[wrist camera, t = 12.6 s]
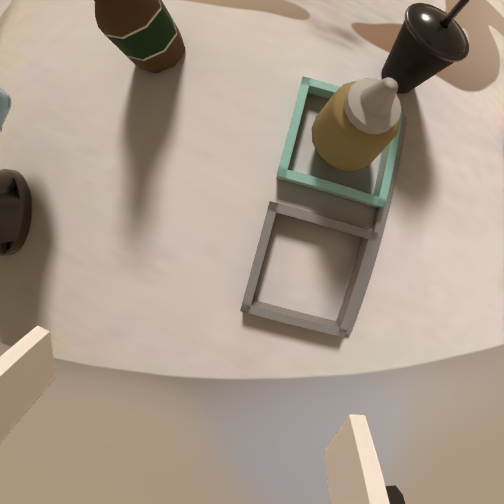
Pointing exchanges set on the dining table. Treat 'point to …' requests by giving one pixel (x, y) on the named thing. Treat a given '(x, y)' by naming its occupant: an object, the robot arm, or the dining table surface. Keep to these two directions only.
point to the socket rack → (328, 224)
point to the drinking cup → (425, 45)
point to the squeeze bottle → (357, 123)
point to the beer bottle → (141, 31)
